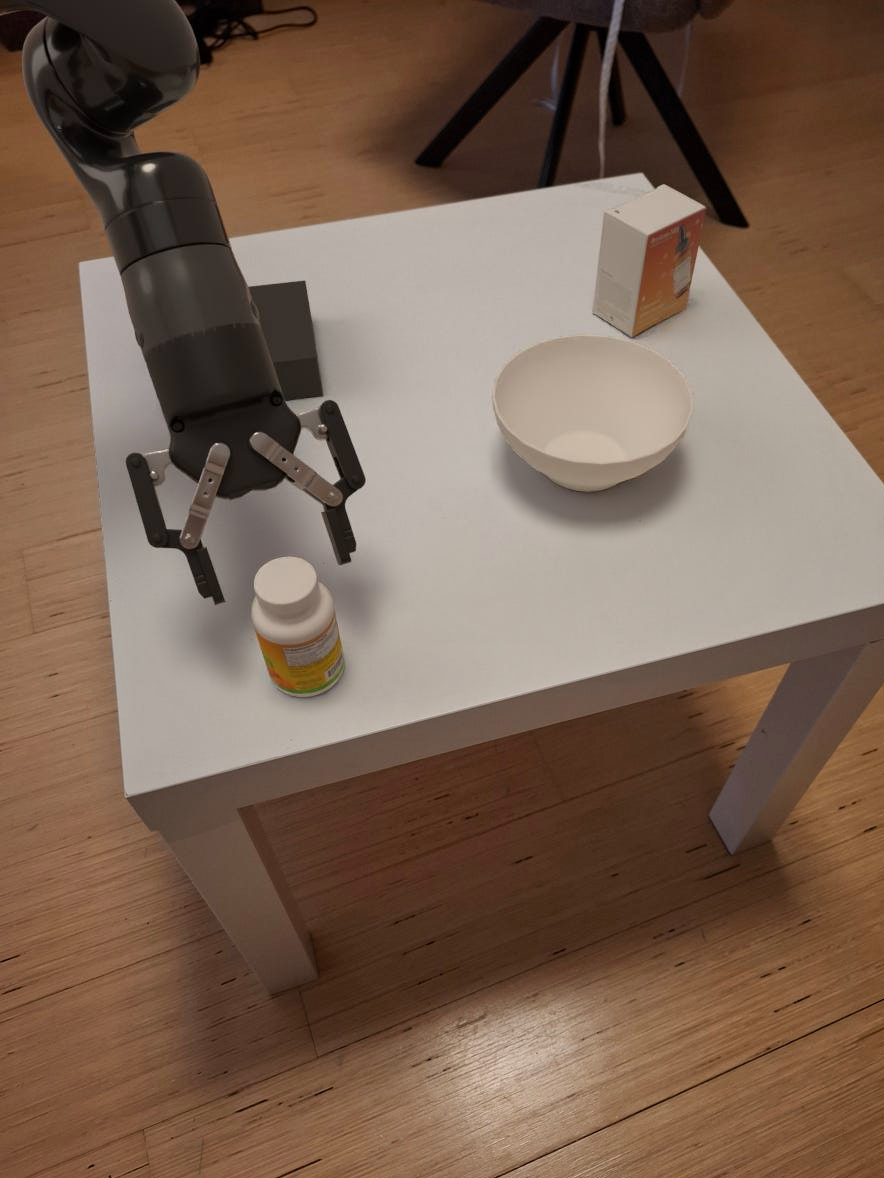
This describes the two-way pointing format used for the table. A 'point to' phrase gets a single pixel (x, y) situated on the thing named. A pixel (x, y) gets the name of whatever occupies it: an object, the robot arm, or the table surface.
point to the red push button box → (289, 337)
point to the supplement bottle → (296, 627)
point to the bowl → (591, 409)
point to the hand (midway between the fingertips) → (283, 583)
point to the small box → (647, 259)
